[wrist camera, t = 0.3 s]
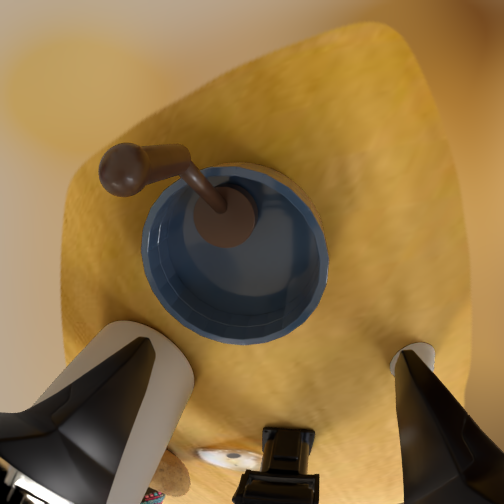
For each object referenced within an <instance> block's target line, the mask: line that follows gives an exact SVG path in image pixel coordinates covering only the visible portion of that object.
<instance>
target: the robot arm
mask: <svg viewBox="0 0 504 504" xmlns="http://www.w3.org/2000/svg"><path fill="white" fill-rule="evenodd" d="M155 358H156V353H155V350H154V347H153V345H152V343H151V340H150V339H149V338H147V337H141V336H140V337H137V338H136V339H134V340H133V341H131V342H130V343H129V344H127V345H126V346H124V347H123V348H121V349H120V350H118V351H117V352H116V353H114V354H113V355H111V356H110V357H108V358H107V359H105V360H104V361H103V362H101V363H100V364H98V365H97V366H95V367H94V368H92V369H91V370H89V371H88V372H87V373H85V374H84V375H82V376H81V377H79V378H78V379H76V380H75V381H74V382H72V384H69V385H68V386H66V387H65V388H63V389H62V390H60V391H59V392H57V393H56V394H54V395H52V396H50V397H49V398H47V399H45V400H43V401H42V402H40V403H38V404H36V405H34V406H33V407H31V408H29V409H27V410H25V411H23V412H20V413H0V504H106V503H107V500H108V497H109V494H110V491H111V488H112V485H113V482H114V479H115V475H116V472H117V470H118V467H119V464H120V461H121V458H122V455H123V452H124V450H125V447H126V444H127V441H128V439H129V436H130V433H131V430H132V428H133V425H134V422H135V420H136V417H137V414H138V412H139V409H140V407H141V404H142V401H143V399H144V396H145V393H146V391H147V387H148V384H149V380H150V376H151V373H152V369H153V365H154V362H155ZM394 371H395V391H396V412H397V419H398V427H399V436H400V445H401V456H402V468H403V485H404V504H504V452H503V451H502V450H501V449H500V448H499V447H498V446H497V445H496V444H495V443H494V442H493V441H492V440H491V439H490V438H489V437H488V436H487V435H486V434H485V433H484V432H483V431H482V430H481V429H480V428H479V426H478V425H477V424H476V423H475V422H474V420H473V419H472V418H471V417H470V415H468V414H467V412H466V411H465V409H464V408H463V407H462V406H461V405H460V403H459V402H458V401H457V400H456V399H455V397H454V396H453V395H452V394H451V393H450V392H449V390H448V389H447V388H446V387H445V386H444V384H443V383H442V382H441V381H440V380H439V379H438V378H437V376H436V375H435V374H434V373H433V372H432V371H431V370H430V368H429V367H428V366H427V365H426V364H425V363H424V362H423V361H422V359H421V358H420V357H419V356H418V355H417V354H416V353H415V352H414V351H413V350H412V349H408V350H402V351H401V352H400V354H399V357H398V359H397V362H396V364H395V370H394ZM314 437H315V431H313V430H297V429H282V428H270V427H264V428H263V431H262V451H263V457H262V462H261V467H260V472H259V471H251V470H247V469H246V472H245V474H242V476H241V480H240V483H239V486H238V488H237V490H236V492H235V494H234V496H233V498H232V502H233V503H234V504H319V474H315V475H307V468H308V456H309V455H310V452H311V448H312V445H313V441H314Z"/></svg>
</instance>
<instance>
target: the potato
mask: <svg viewBox="0 0 504 504" xmlns="http://www.w3.org/2000/svg"><path fill="white" fill-rule="evenodd" d="M148 487H150V488H152V489H155V490H157V491H159V492H161V493H164V494H166V495H169V496H175V497H176V496H182V495H185V494H186V493H187V492H188V491H189V487H190V476H189V472H188V469H187V468H186V467H185V465H184V464H183V463H182V462H181V461H180V460H179V459H178V458H177V457H176V456H175V455H174V454H172V453H171V452H169V451H168V450H165V452H164V454H163V456H162V458H161V460H160V463H159V465H158V467H157V469H156V471H155V473H154V475H153V478H152V480H151V482H150V484H149V486H148Z"/></svg>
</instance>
